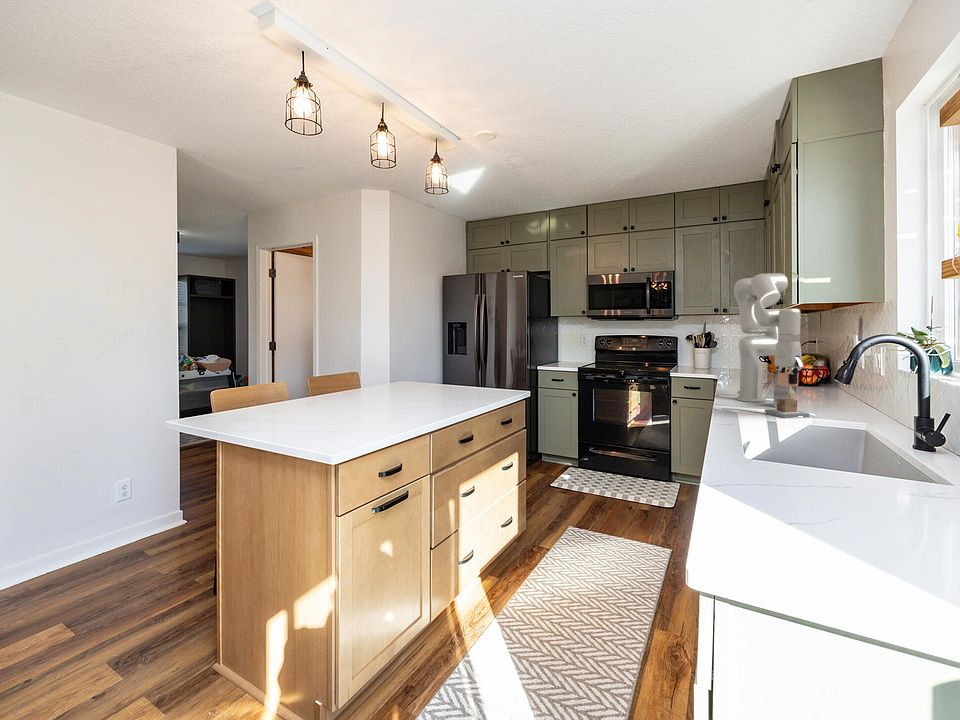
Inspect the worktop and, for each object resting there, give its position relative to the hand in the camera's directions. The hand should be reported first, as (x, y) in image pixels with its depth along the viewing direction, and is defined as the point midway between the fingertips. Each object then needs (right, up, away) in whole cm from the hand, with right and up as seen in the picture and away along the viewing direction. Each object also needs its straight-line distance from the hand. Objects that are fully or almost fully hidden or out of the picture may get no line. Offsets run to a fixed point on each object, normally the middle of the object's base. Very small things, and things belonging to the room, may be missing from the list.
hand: (787, 382), depth 189 cm
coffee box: (+11, -12, +19) cm, 25 cm away
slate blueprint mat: (0, -14, +1) cm, 14 cm away
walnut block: (0, -12, +1) cm, 12 cm away
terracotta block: (0, -1, 0) cm, 1 cm away
